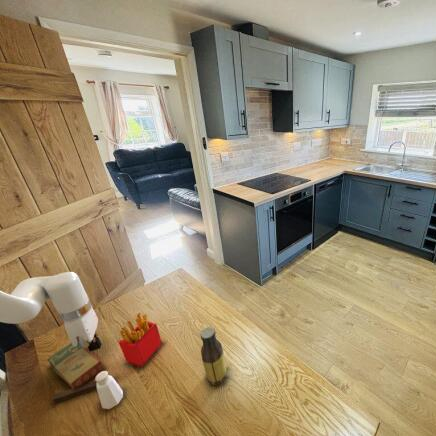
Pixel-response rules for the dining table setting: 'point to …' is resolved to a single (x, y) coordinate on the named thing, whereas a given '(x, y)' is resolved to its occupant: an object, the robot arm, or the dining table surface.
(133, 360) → the french fries container
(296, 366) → the dining table surface
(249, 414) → the dining table surface
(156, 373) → the dining table surface
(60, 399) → the rail
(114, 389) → the pepper shaker
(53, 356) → the carton
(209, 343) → the sauce bottle
